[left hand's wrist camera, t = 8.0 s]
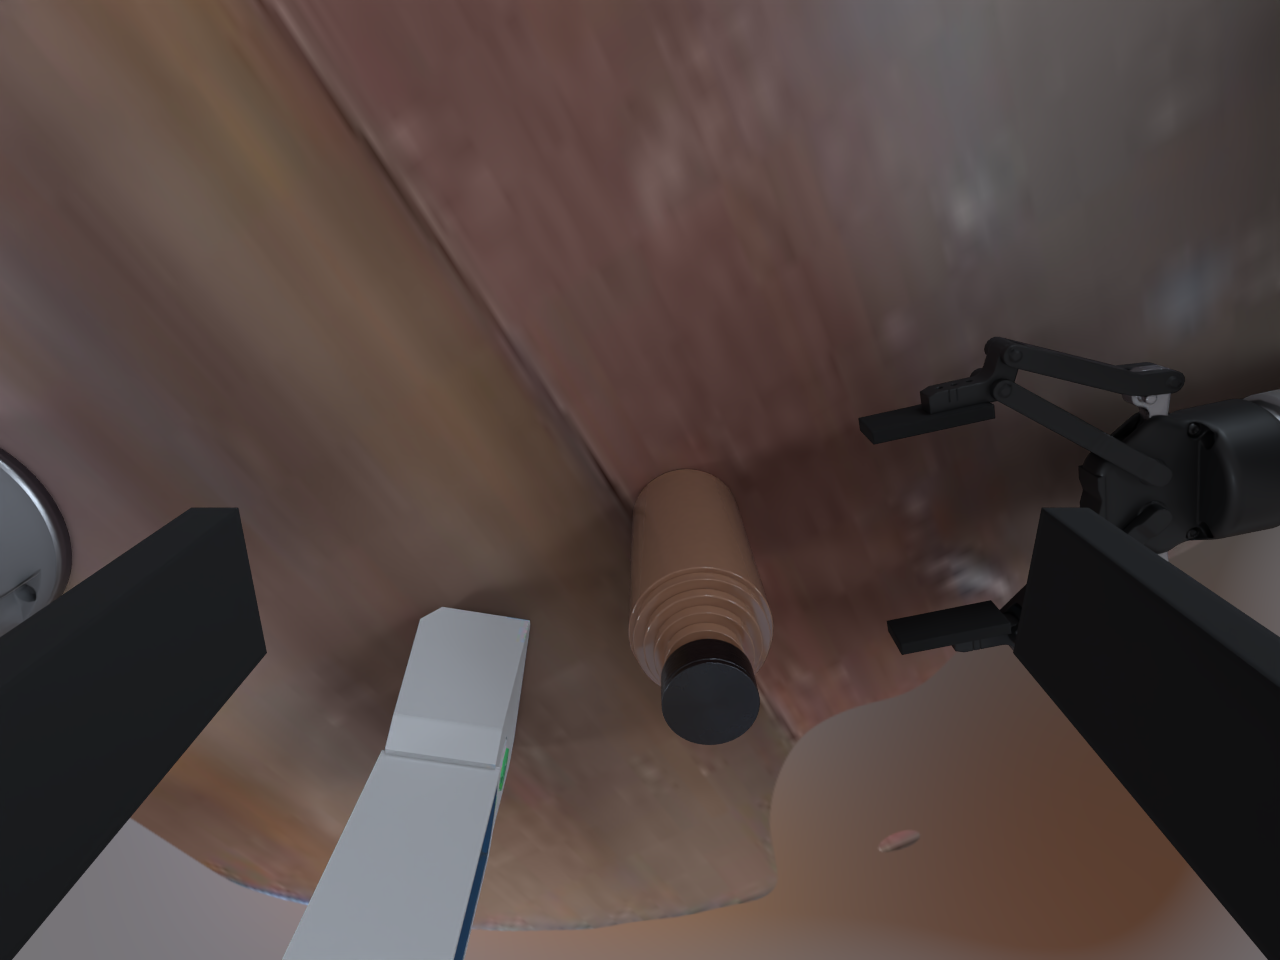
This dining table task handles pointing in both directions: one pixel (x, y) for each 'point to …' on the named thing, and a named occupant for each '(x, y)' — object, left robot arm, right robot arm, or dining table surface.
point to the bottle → (693, 572)
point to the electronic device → (425, 802)
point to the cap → (709, 692)
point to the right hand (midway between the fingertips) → (879, 539)
